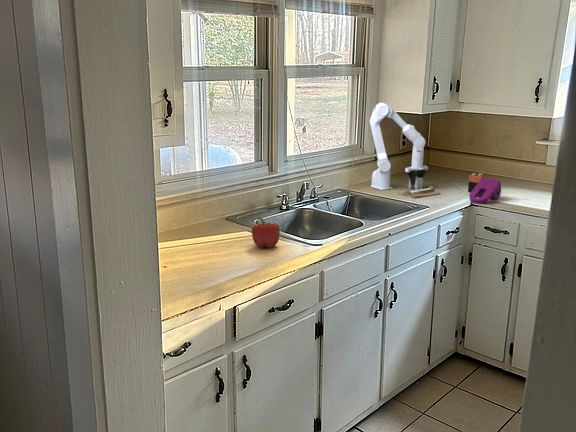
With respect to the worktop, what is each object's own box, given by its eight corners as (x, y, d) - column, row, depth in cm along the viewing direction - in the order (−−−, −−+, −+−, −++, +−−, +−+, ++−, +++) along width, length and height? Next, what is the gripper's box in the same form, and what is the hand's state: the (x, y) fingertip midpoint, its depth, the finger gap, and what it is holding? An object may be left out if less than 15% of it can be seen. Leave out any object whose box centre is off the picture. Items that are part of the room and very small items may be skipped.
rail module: (408, 188, 310) (409, 176, 308) (414, 187, 312) (414, 176, 310) (416, 190, 305) (417, 178, 303) (422, 189, 307) (423, 178, 305)
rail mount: (398, 193, 296) (399, 188, 296) (424, 190, 306) (424, 184, 305) (414, 198, 287) (414, 192, 287) (440, 194, 297) (440, 188, 296)
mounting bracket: (486, 216, 280) (501, 194, 290) (484, 201, 276) (500, 180, 285) (467, 212, 286) (483, 191, 296) (465, 198, 282) (482, 177, 291)
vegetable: (245, 244, 214) (245, 218, 212) (269, 240, 220) (269, 214, 217) (261, 252, 206) (261, 225, 203) (285, 247, 211) (285, 221, 209)
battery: (480, 194, 298) (482, 175, 295) (467, 192, 302) (469, 173, 300) (483, 193, 301) (485, 173, 299) (471, 190, 305) (472, 172, 303)
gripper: (412, 161, 297) (411, 187, 301) (433, 158, 305) (431, 184, 308) (403, 159, 303) (401, 184, 306) (423, 156, 310) (421, 181, 314)
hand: (415, 184), depth 308 cm, fingers closed on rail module, 4 cm apart
